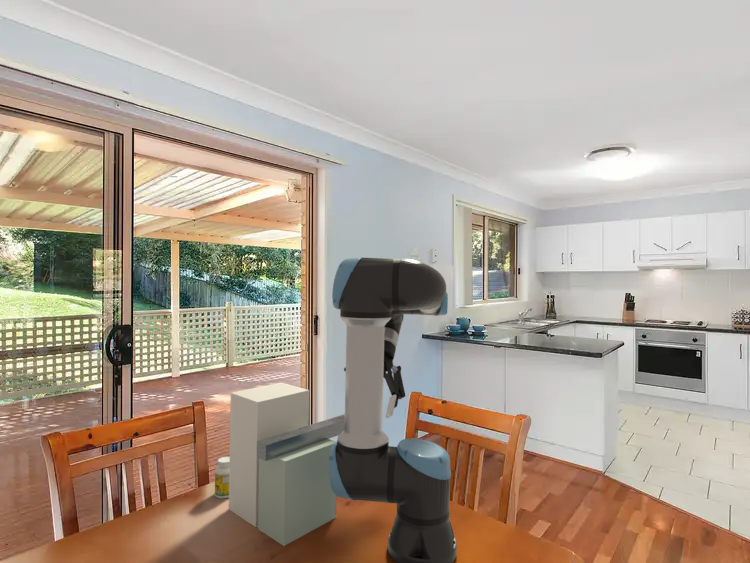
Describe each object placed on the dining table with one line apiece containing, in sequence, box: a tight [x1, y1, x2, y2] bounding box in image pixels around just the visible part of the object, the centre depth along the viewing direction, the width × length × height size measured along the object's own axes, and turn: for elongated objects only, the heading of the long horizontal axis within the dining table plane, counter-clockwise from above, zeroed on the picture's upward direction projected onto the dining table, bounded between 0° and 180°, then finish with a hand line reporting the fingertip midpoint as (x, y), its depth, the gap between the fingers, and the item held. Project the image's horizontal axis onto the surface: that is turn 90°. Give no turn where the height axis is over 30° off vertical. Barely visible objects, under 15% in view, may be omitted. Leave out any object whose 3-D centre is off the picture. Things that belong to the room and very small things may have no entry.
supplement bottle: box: [214, 456, 230, 500], centre depth 121 cm, size 5×5×10 cm
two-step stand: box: [228, 382, 337, 547], centre depth 112 cm, size 16×23×30 cm
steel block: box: [257, 413, 345, 461], centre depth 111 cm, size 30×4×4 cm, turn 139°
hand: (368, 406), depth 125 cm, fingers open, 13 cm apart
